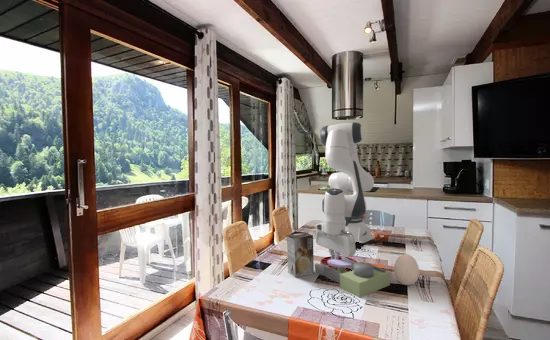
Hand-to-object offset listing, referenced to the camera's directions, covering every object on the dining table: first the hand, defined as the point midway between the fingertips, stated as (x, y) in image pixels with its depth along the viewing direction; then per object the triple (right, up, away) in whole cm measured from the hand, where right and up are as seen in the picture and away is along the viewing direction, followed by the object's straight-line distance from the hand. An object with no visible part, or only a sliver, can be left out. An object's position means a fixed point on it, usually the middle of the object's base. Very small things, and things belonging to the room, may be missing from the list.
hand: (334, 260), depth 122 cm
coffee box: (-15, -5, -1) cm, 15 cm away
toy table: (+1, -5, -5) cm, 7 cm away
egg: (+24, -5, -13) cm, 28 cm away
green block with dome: (+8, -5, -14) cm, 18 cm away
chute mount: (+3, -5, -4) cm, 6 cm away
